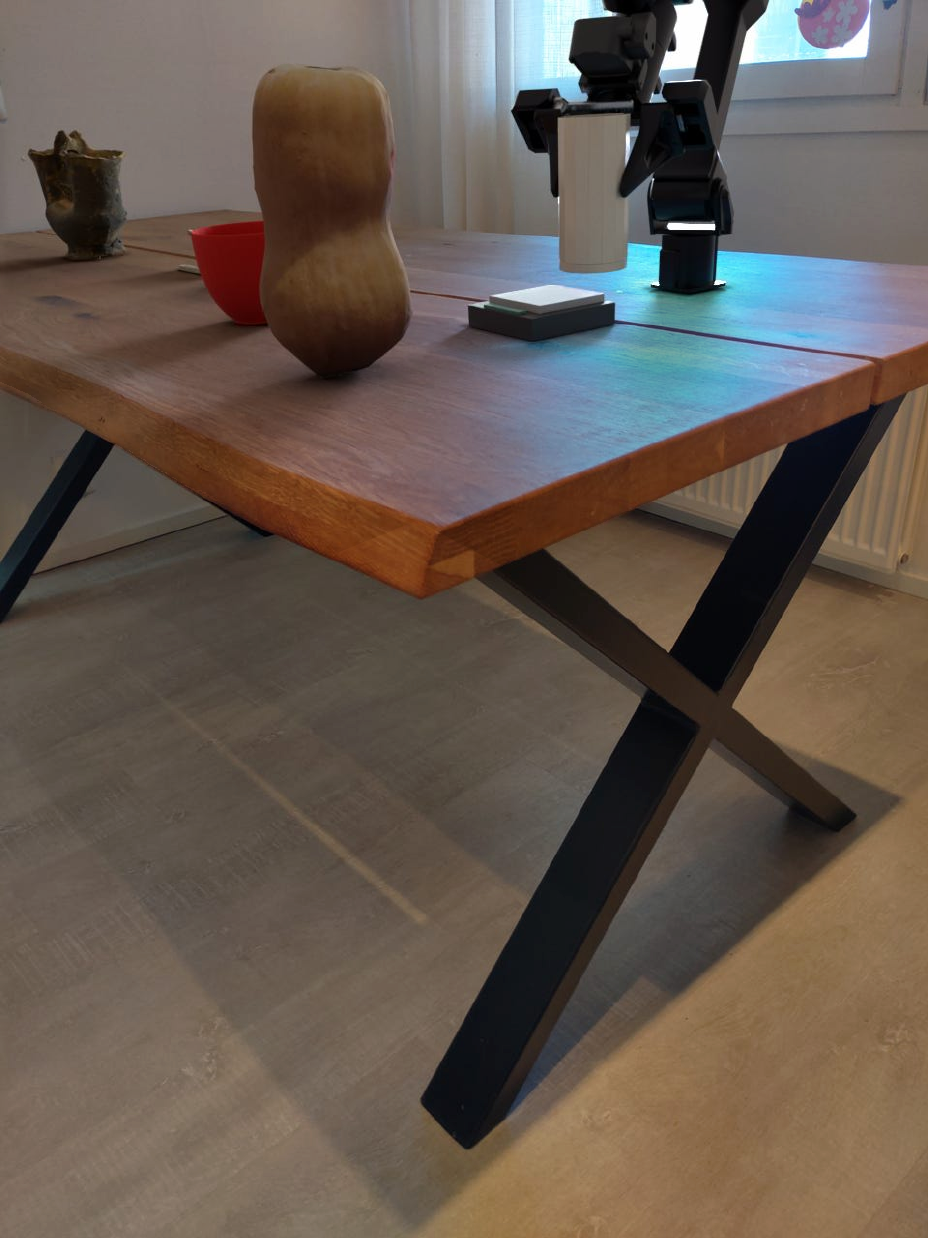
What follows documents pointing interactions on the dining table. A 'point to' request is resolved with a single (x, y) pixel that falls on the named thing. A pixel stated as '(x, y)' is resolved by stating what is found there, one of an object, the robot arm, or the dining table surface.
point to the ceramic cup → (233, 267)
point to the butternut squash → (328, 216)
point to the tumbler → (592, 192)
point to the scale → (542, 312)
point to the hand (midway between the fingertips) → (587, 194)
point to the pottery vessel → (82, 195)
